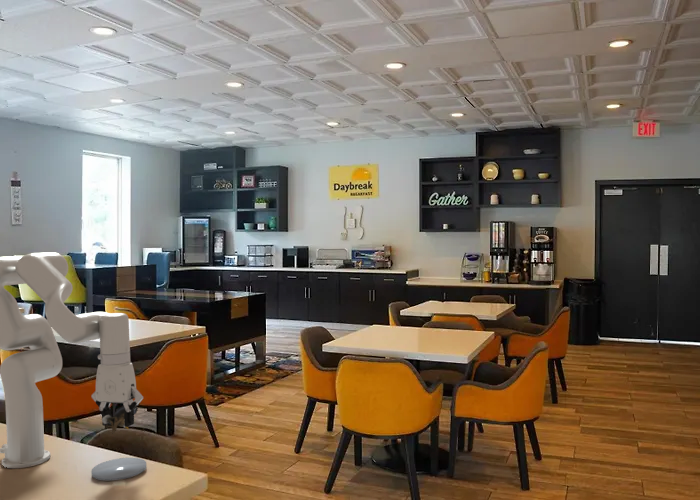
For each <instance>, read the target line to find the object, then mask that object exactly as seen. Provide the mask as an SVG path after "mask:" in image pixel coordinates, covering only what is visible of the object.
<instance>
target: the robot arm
mask: <svg viewBox="0 0 700 500" xmlns="http://www.w3.org/2000/svg"><path fill="white" fill-rule="evenodd" d="M68 273H69V265H68V261H67V259H66V258H65V257H64V256H63V255H62V254H60V253H58V252H31V253H27V254H24V255H15V256H11V255H8V256H6V255H5V256H0V349H1V350H3V351H14V350H19V349H22V348H27V347H29V350H25V351H20V352H16V353H13V354H11V355H9V356H7V357H6V358H5V359H4V360H2V363H1V364H0V379H1V382H2V386H3V392H4V401H5V402H4V403H5V420H6V421H5V422H6V423H5V424H6V443H4V444H2V445H1V447H0V454H4V458H2V459H1V466H2V465H3V466H4V468H6V467H7V468H6V469H22V468H29V467H32V466H36V465H40V464H43V463H45V462H47V461H48V460H50V458H51V452H50V451H49V450H47V449H45V434H44V433H45V432H44V426H45V425H44V405H43V396H42V393H41V391H40V389H38V388H39V387H37V385H36V383H38V382H41V381H45V380H49V379H51V378H54V377H56V376H58V374H60V372H61V371H62V368H63V357H62V354H61V351H60V348H59V346H58V342H57V340H56V339H57V338H56V337H55V333H54V332H56V333H57V335H59V336H60V338H62V339H63V340H64V341H66V342H68V343H70V344H81V343H85V342H89V341H95V340H99V348H100V349H99V352H100V354H98V355H97V359H98V360H100V363H99V364H98V366H97V368H96V369H97V371H96V375H95V376H96V377H95V378H96V379H95V391H94V392H93V393H92V394H91V399H92V400H93V401H94V402H95V404H96V405H97V407H98V409H99V411H100V412H101V419H102V418H103V417H104V416H106V415H110V416H112V417H113V415H112V413H113V412H112V407H110V406H111V404H112V403H114V404H123V405H124V407H125V409H126V412H124V422H125V427H128V428H129V427H130V426H132V425H134V424H135V414H134V410H135V409H136V407H137V408H138V406H139V405H140V403H141V402H142V401H143V399H144V396H143V395H142V393H141V392H140V391H139V390H138V389H137V381H136V374H135V369H134V366H133V363H132V362H131V348H130V346H131V345H130V343H131V342H130V321H129V320H130V319H129V316H128V314H127V313H123V312H112V313H111V312H105V311H94V312H93V311H92V312H86V313H85V312H84V313H81V314H80V313H79V314H74V313H73V312H72V311H71V310H70V309H69V308H68V307H67V306H66V305H65V301H67V300H68V299H69V297H70V296H71V294H72V293H73V284H72V282H70V280H69V279H68V278H67V277H66V276H67V274H68ZM24 284H26V285H27V286H28V287H29V288H30V289H31V290H32V291H33V292H34V293H35V294H36V295H37V296H38V298H40V299H41V300H42V301H43V302H44V303H45V305H44V313H45V317H44V316H43V315H41V314H38V313H31V314H22V312H21V310H20V307H19V305H18V302H17V300H16V297H14V296H13V295H12V293H11V292H9V291H8V289H6V288H5V286H14V285H24ZM123 405H122V406H123ZM129 405H130V406H129ZM101 423H102V424H101V425H102V426H108V425H109V424H110V423H108V424H104V423H103V422H102V421H101ZM110 425H111V424H110ZM3 466H2V467H3Z"/></svg>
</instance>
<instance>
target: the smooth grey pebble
mask: <svg viewBox="0 0 700 500" xmlns="http://www.w3.org/2000/svg"><path fill="white" fill-rule="evenodd" d="M146 469H147V461H146V460H145V459H143V458H139V457H121V458H114V459H110V460H106V461H103V462H101V463H98V464H97V465H95V466H94V467H92V468H91V471H90V472H91V477H92V478H93V479H95V480H98V481H118V480H125V479H128V478H132V477H134V476H137V475H140V474H142V473H143V472H145V471H146Z"/></svg>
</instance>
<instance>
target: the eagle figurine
mask: <svg viewBox="0 0 700 500" xmlns="http://www.w3.org/2000/svg"><path fill="white" fill-rule="evenodd" d="M129 406H130V405H129ZM138 410H139V407H138V406H137V407H136V409H135V410H134V415H136V414H137V412H138ZM124 412H126V409H125V407H124V405H122V406H120V407H118V408H117V409H116V410H115V412H114V415H112V416H110V415H106V416H104V417H103V418H102V417H101V423H102V422H103V423H104V424H107V428H111V430H112V431H111V434H112V435H114V434H115V432H116V431H117V428H118V427H123V428H125V429H127V430H130V429H129V427H125V422H124ZM108 423H110V424H108Z"/></svg>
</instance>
